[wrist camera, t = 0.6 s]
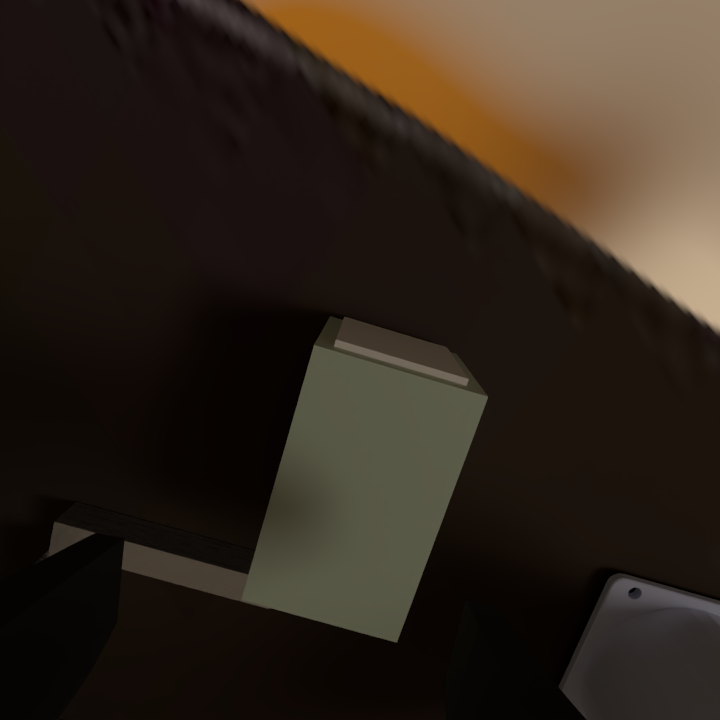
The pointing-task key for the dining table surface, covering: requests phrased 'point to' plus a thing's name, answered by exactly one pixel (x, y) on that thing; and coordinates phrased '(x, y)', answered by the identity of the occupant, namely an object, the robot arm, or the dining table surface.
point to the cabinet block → (364, 478)
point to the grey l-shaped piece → (160, 550)
